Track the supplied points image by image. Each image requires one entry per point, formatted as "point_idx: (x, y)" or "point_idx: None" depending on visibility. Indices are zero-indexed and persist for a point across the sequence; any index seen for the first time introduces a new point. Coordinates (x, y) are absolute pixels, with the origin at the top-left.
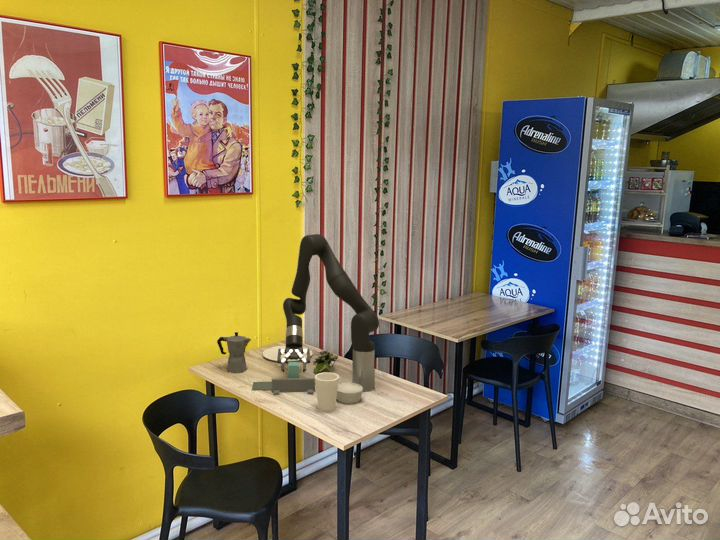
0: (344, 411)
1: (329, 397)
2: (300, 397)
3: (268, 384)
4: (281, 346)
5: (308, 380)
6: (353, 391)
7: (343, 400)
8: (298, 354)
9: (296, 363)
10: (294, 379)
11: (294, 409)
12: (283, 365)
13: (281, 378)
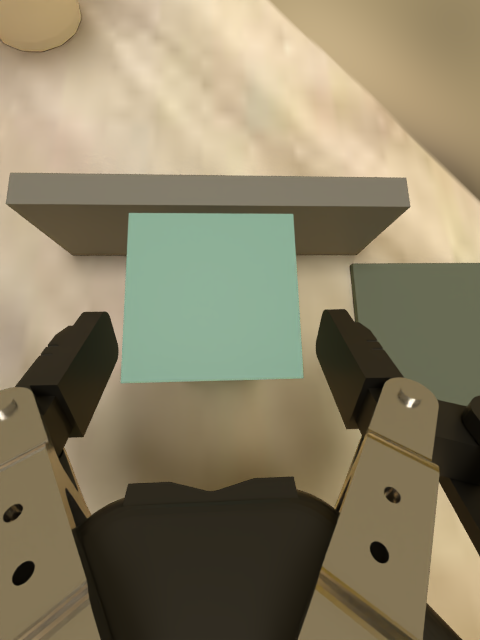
0: None
1: None
2: (175, 154)
3: (399, 351)
4: None
5: (82, 180)
6: None
7: None
8: (66, 546)
9: (169, 305)
10: (208, 177)
11: (209, 19)
12: (362, 345)
13: (327, 204)
